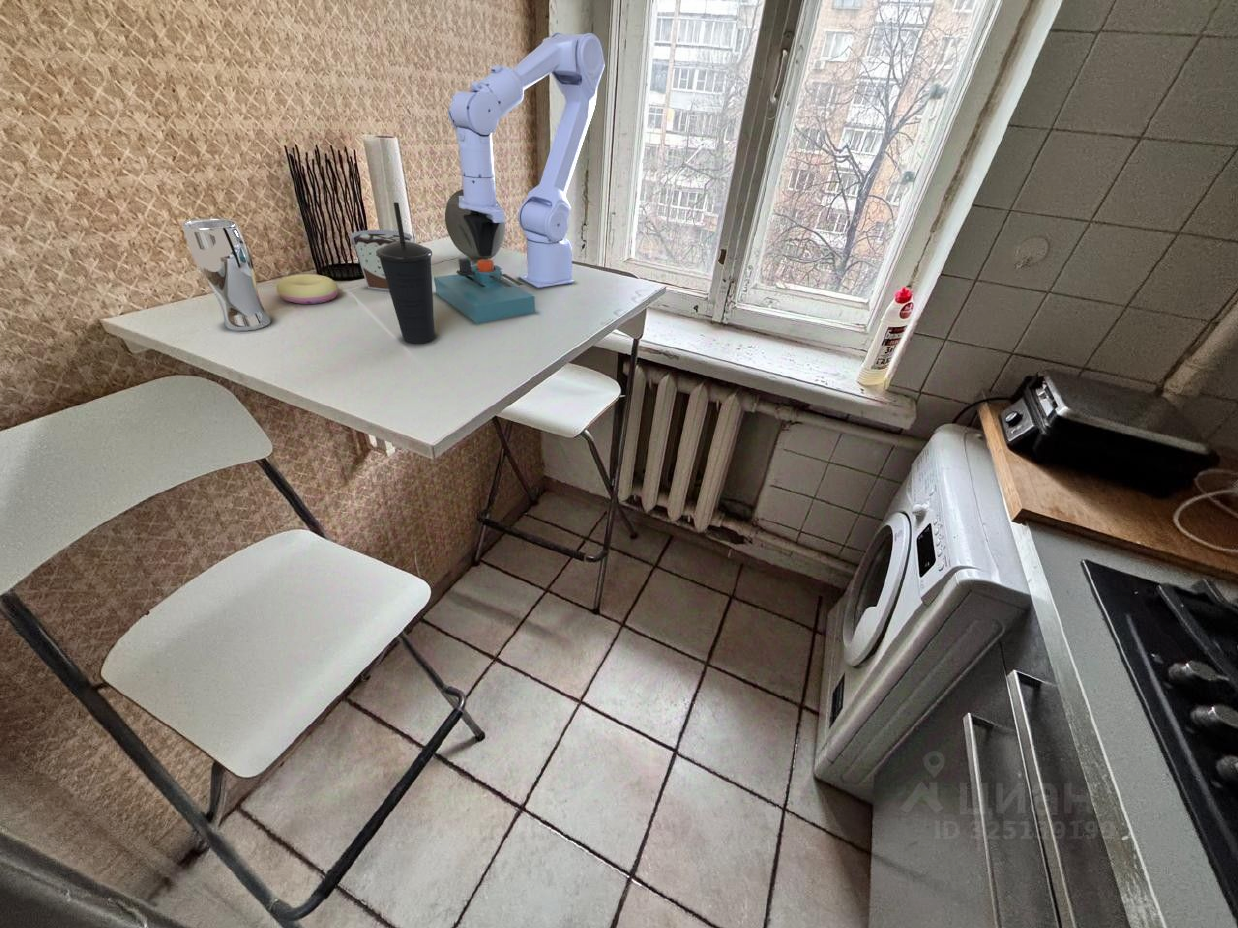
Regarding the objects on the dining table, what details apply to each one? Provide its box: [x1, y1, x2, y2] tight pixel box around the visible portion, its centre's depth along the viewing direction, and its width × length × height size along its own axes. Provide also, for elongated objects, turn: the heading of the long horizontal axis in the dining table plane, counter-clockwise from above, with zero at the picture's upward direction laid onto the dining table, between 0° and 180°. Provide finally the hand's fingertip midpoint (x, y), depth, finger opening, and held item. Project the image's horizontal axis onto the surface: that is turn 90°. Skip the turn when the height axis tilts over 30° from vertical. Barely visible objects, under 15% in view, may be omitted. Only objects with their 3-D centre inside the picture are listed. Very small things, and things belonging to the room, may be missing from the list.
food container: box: [349, 229, 416, 291], centre depth 96 cm, size 12×6×10 cm, turn 85°
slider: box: [456, 257, 475, 276], centre depth 91 cm, size 3×2×3 cm
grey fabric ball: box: [444, 188, 506, 261], centre depth 115 cm, size 14×14×15 cm
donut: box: [275, 273, 339, 305], centre depth 89 cm, size 10×5×9 cm
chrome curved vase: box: [180, 218, 271, 332], centre depth 74 cm, size 7×7×15 cm
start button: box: [476, 259, 495, 272], centre depth 96 cm, size 3×3×2 cm
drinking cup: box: [376, 202, 436, 346], centre depth 74 cm, size 8×8×20 cm
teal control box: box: [433, 264, 536, 324], centre depth 94 cm, size 12×18×5 cm
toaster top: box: [454, 273, 524, 287], centre depth 91 cm, size 9×10×1 cm
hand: (485, 255), depth 95 cm, fingers closed
